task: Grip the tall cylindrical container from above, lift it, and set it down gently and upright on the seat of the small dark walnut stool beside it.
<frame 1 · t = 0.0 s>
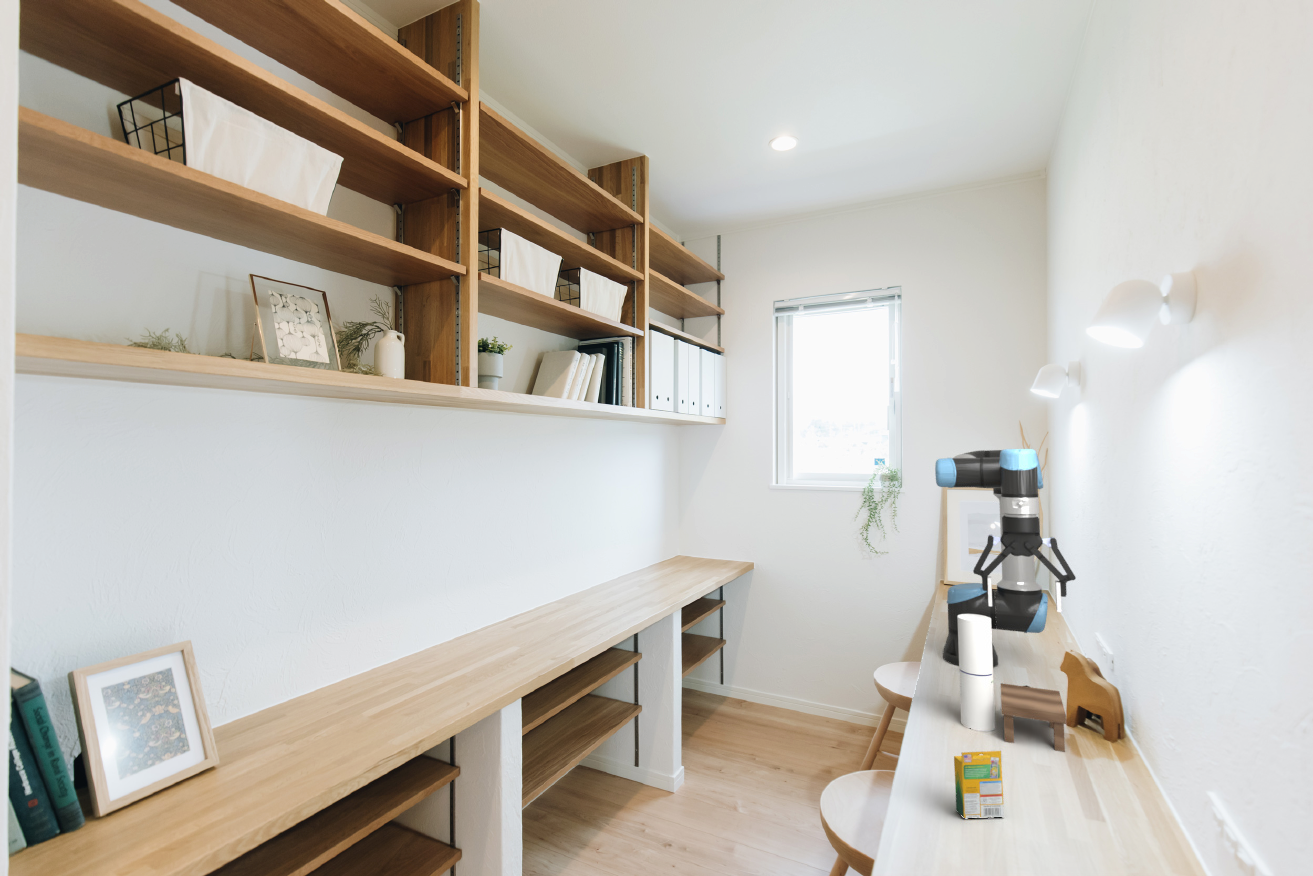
hand: (1023, 608, 144), 28 cm above the worktop, tool pointing down, fingers open, 13 cm apart
crayon box: (979, 815, 110), on the worktop
walnut stool: (1032, 733, 142), on the worktop
black box: (1028, 707, 159), on the worktop
cylindrical container: (977, 725, 147), on the worktop
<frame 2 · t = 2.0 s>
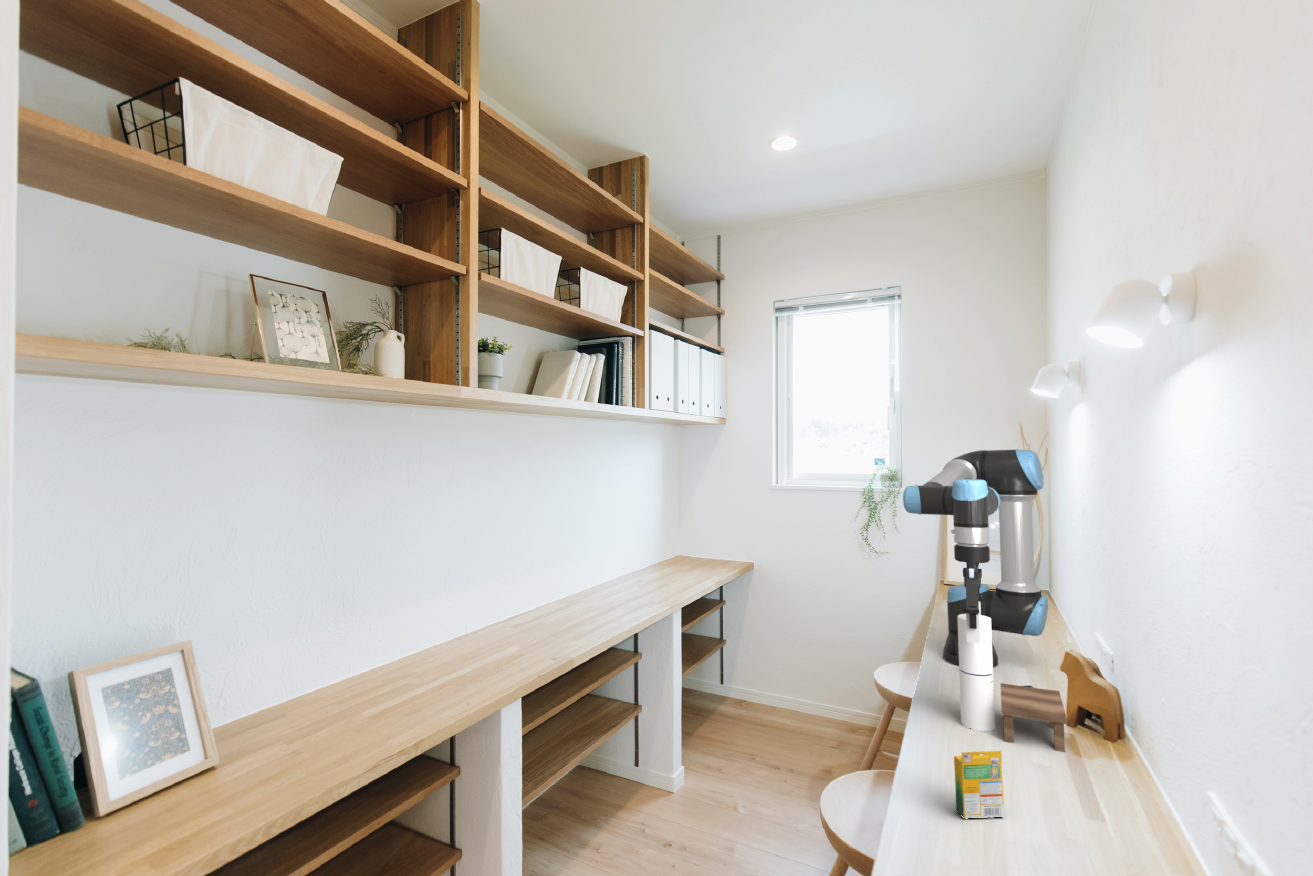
hand: (974, 635, 148), 21 cm above the worktop, tool pointing down, fingers open, 13 cm apart
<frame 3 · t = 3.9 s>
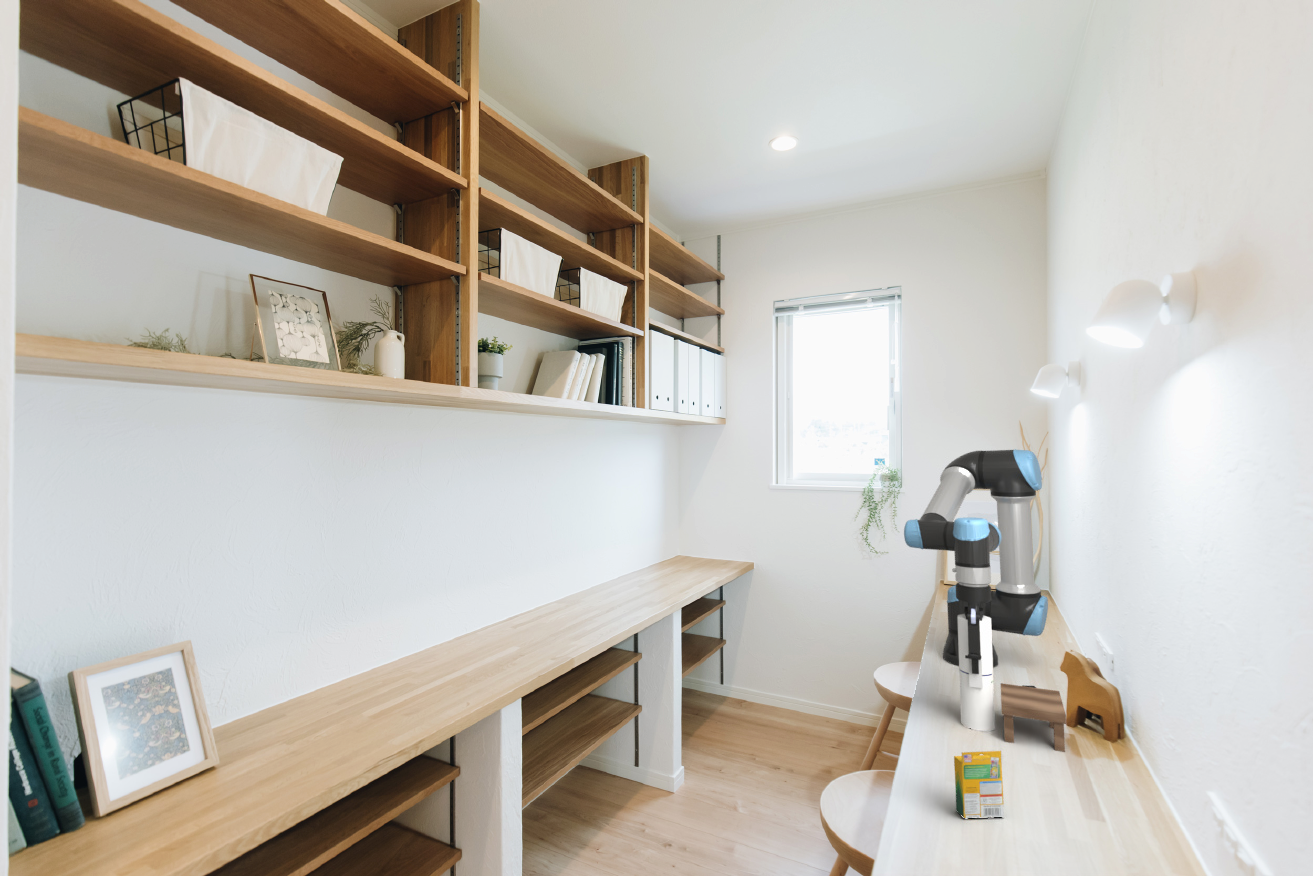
hand: (976, 681, 147), 10 cm above the worktop, tool pointing down, fingers closed on cylindrical container, 7 cm apart
cylindrical container: (977, 725, 147), on the worktop, touching gripper
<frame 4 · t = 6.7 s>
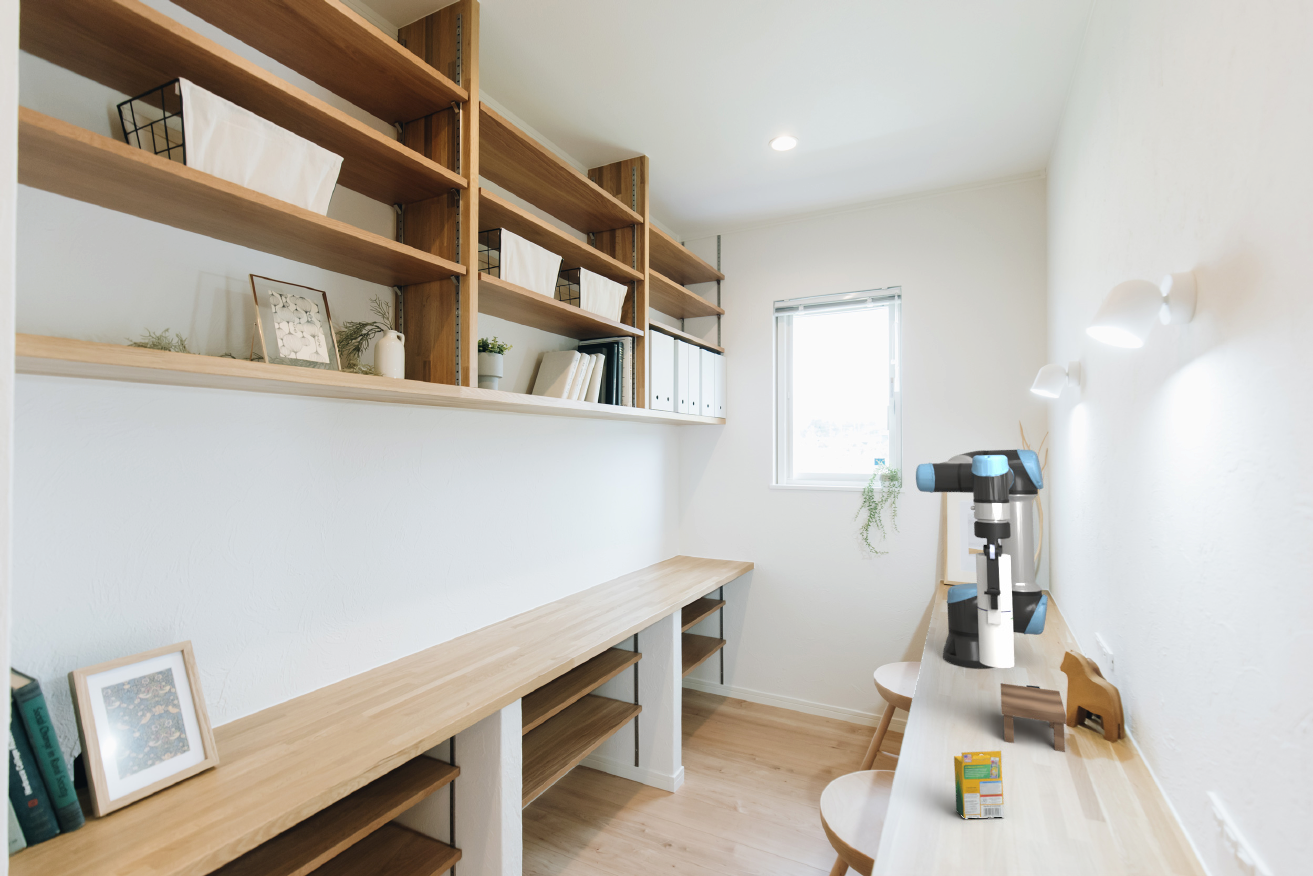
hand: (995, 619, 146), 25 cm above the worktop, tool pointing down, fingers closed on cylindrical container, 7 cm apart
cylindrical container: (996, 663, 145), point 15 cm above the worktop, touching gripper
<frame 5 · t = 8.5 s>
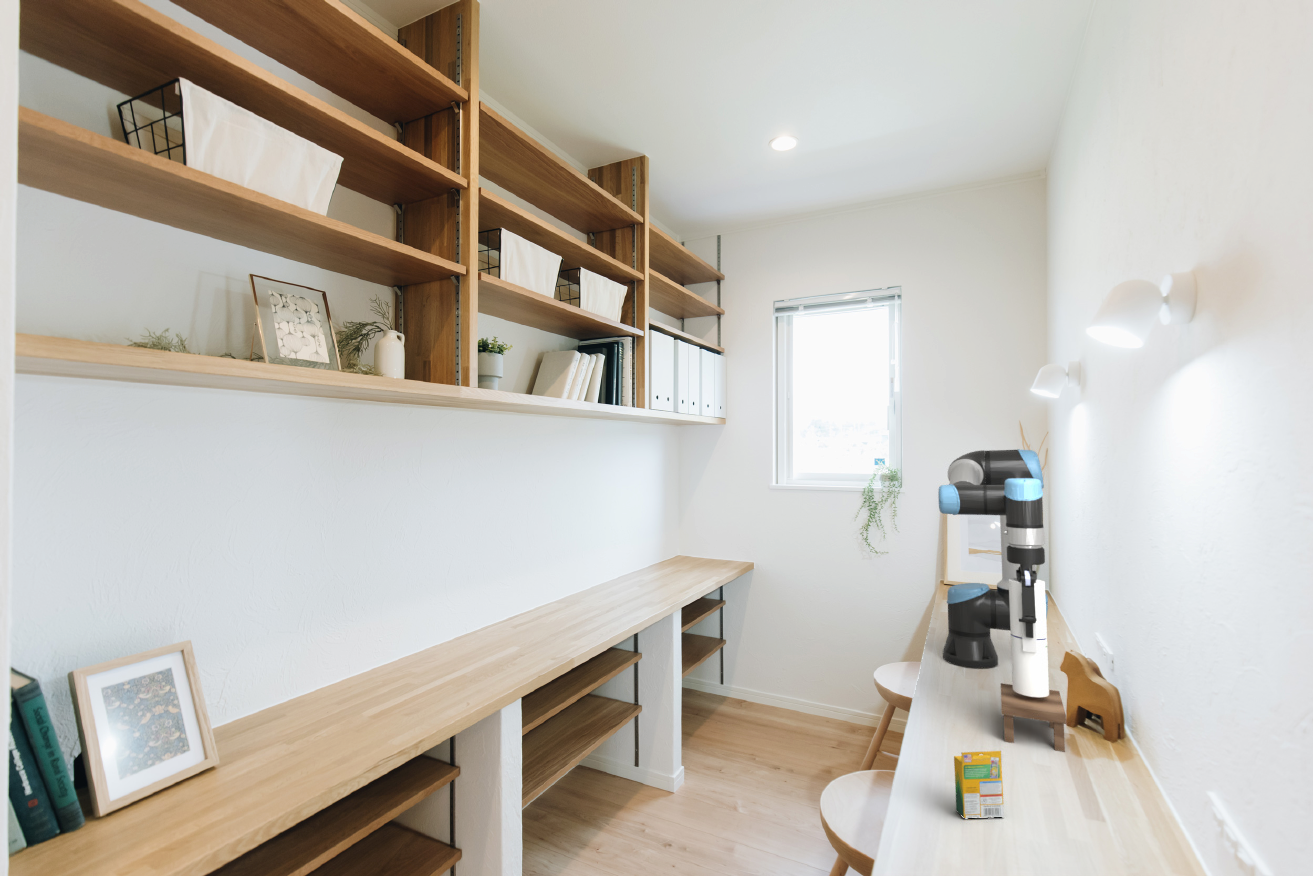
hand: (1029, 646, 143), 20 cm above the worktop, tool pointing down, fingers closed on cylindrical container, 7 cm apart
cylindrical container: (1030, 692, 142), point 9 cm above the worktop, touching gripper
when the fingers open (19 cm above the worktop, at t = 9.6 s): cylindrical container drops 1 cm, resting on walnut stool.
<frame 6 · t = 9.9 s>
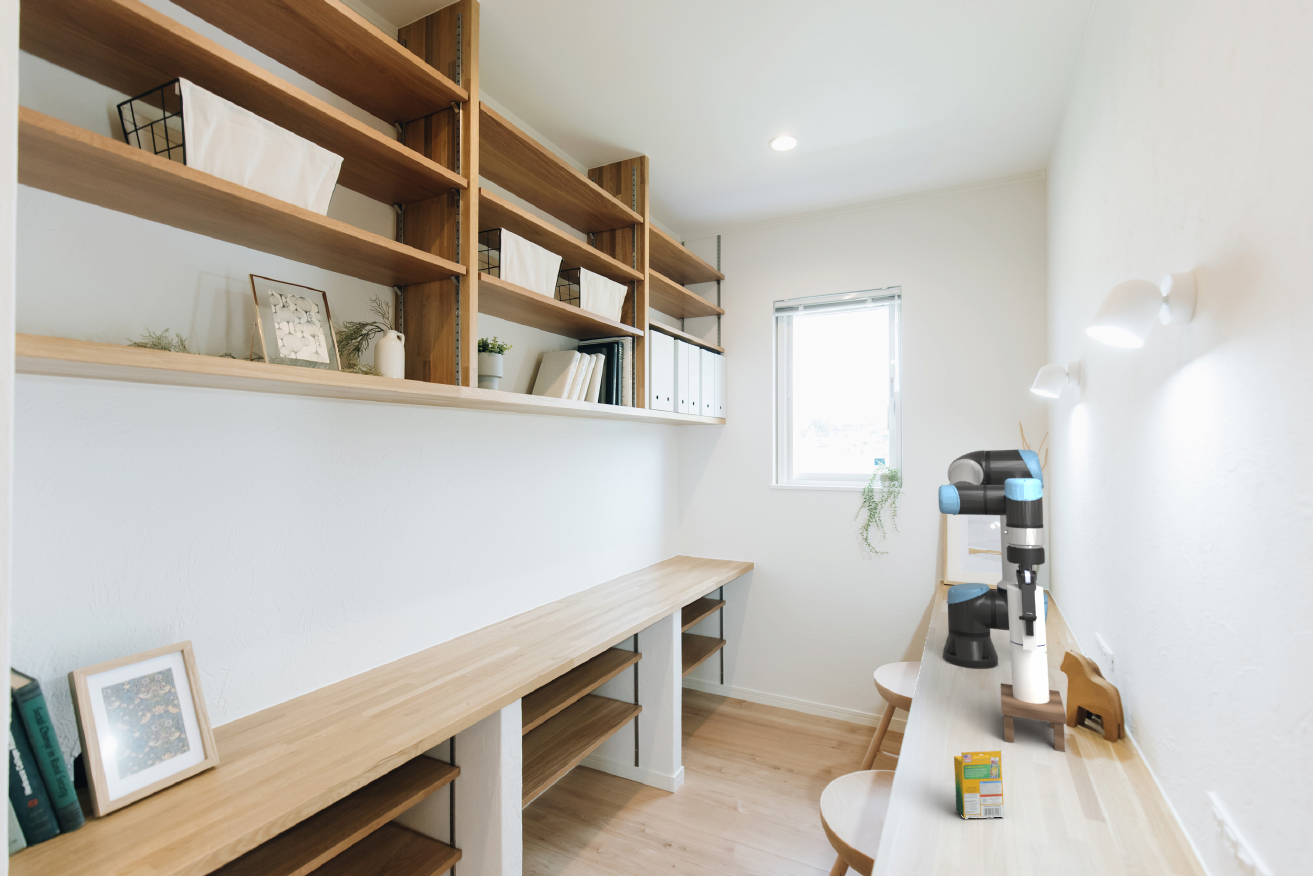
hand: (1028, 643, 143), 20 cm above the worktop, tool pointing down, fingers open, 10 cm apart
cylindrical container: (1031, 698, 142), point 8 cm above the worktop, touching walnut stool
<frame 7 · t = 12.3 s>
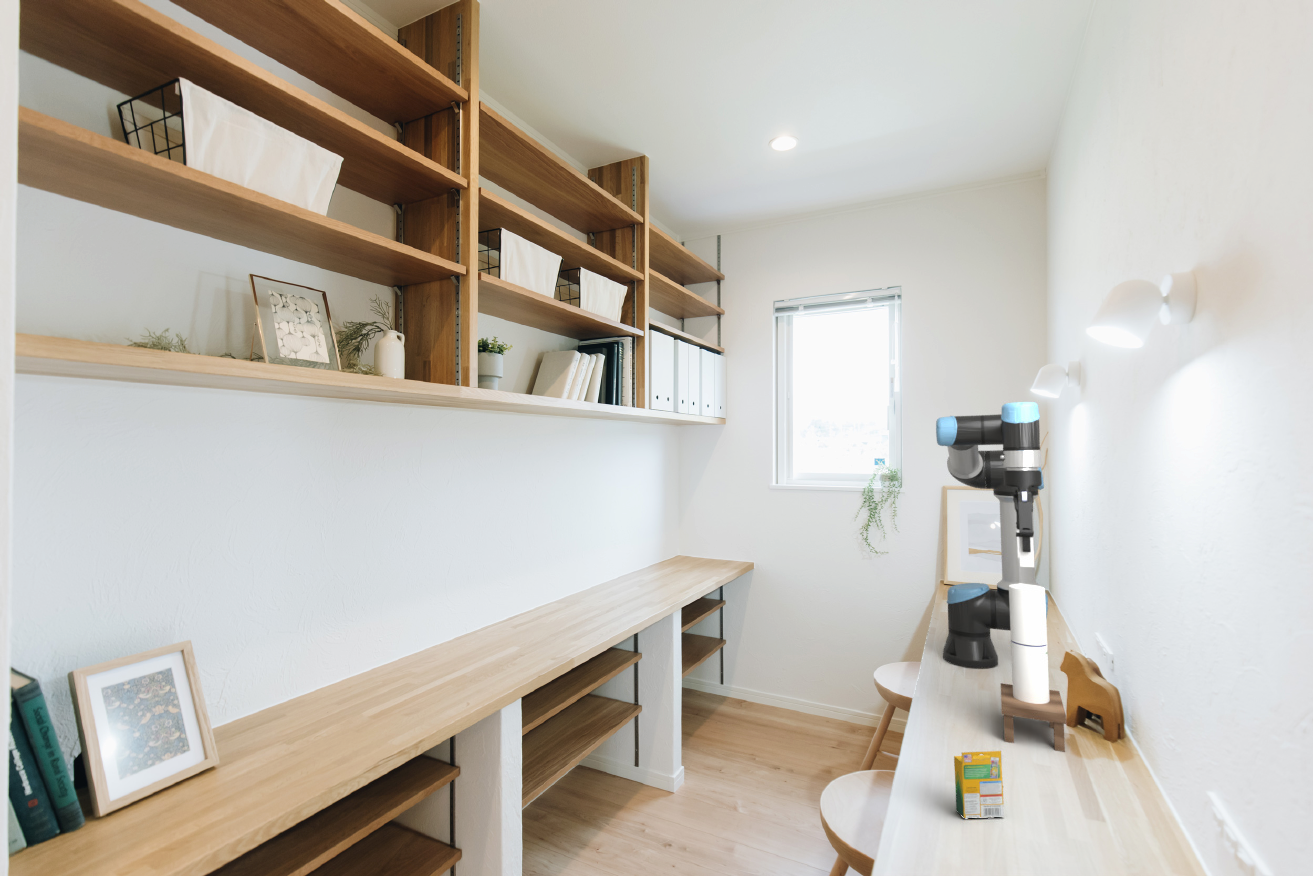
hand: (1025, 562, 143), 39 cm above the worktop, tool pointing down, fingers open, 13 cm apart
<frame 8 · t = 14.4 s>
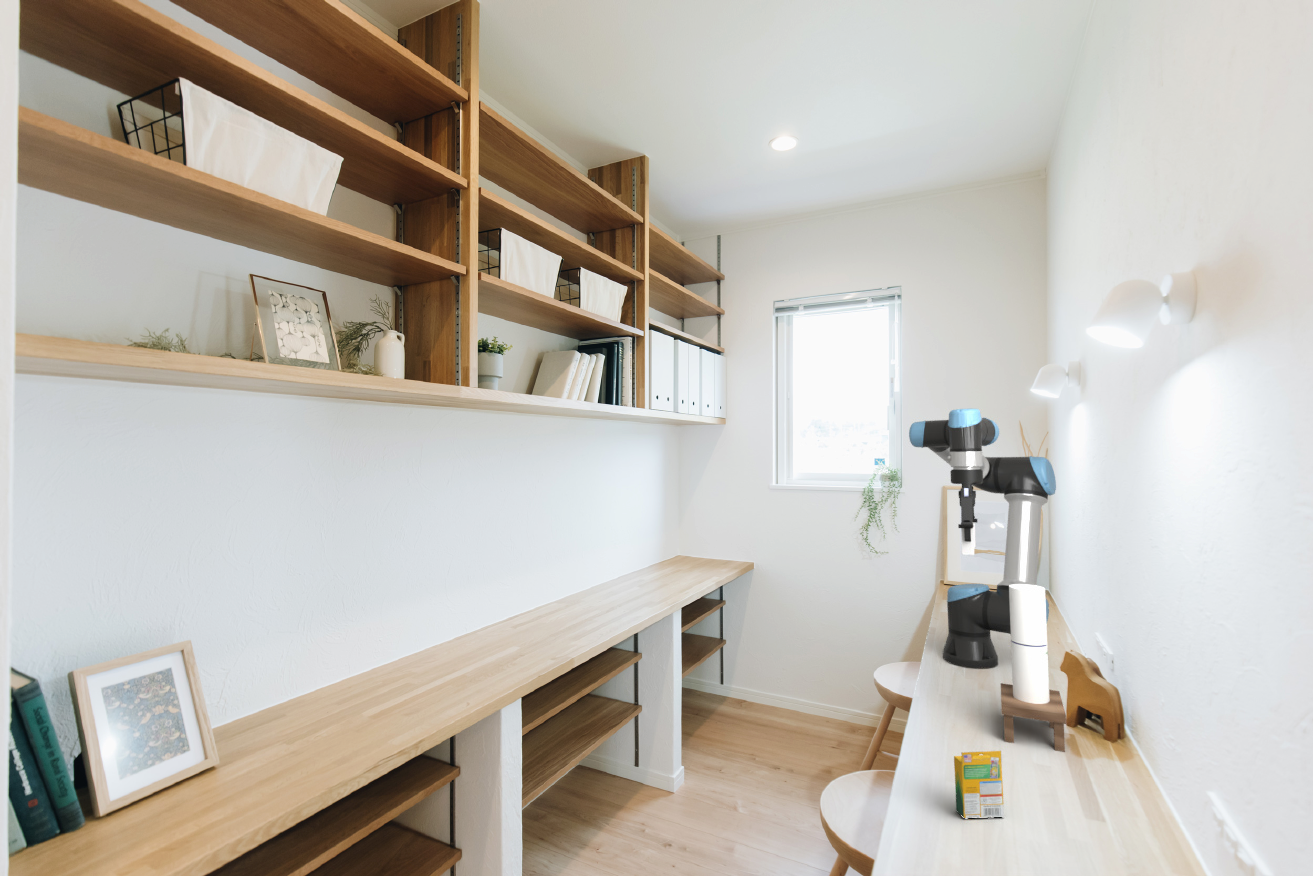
hand: (969, 551, 161), 39 cm above the worktop, tool pointing down, fingers open, 13 cm apart
at the end: cylindrical container inside the target area on the walnut stool (0.1 cm from its centre), point 7.8 cm above the walnut stool's base; cylindrical container tilted 0°; the gripper is holding nothing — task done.
